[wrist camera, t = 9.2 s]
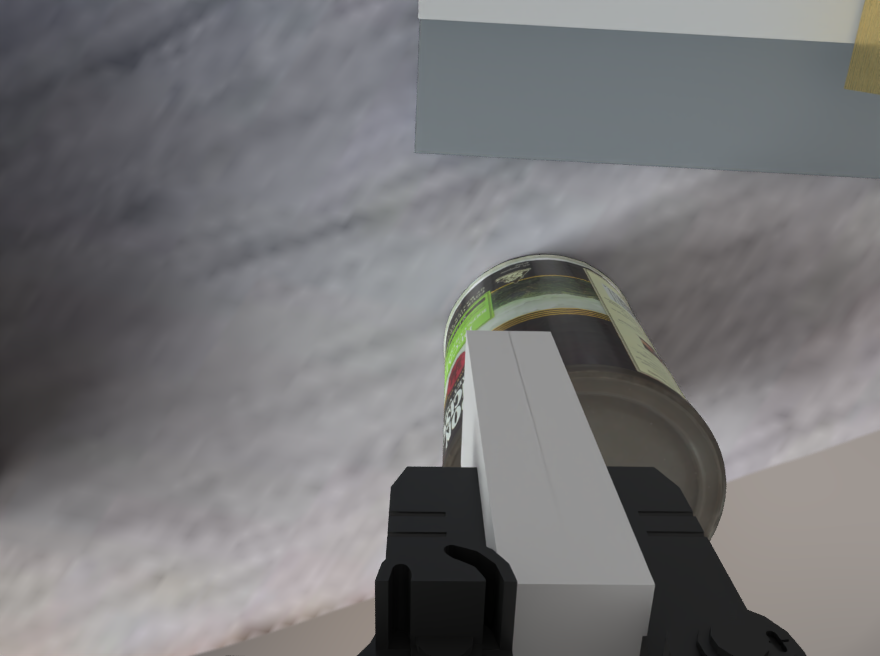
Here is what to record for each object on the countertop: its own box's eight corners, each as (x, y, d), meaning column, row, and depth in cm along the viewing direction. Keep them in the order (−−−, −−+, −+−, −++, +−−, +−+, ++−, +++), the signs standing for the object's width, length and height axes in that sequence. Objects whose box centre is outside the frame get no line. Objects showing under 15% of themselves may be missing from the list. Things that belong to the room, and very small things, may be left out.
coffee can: (411, 388, 41) (392, 556, 28) (496, 220, 38) (521, 323, 25) (577, 459, 43) (633, 650, 30) (674, 304, 39) (785, 443, 26)
